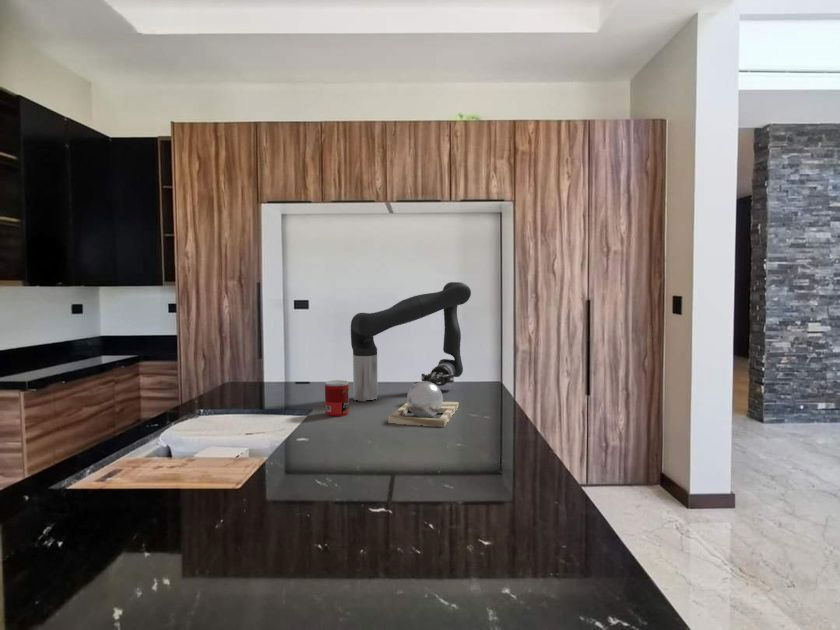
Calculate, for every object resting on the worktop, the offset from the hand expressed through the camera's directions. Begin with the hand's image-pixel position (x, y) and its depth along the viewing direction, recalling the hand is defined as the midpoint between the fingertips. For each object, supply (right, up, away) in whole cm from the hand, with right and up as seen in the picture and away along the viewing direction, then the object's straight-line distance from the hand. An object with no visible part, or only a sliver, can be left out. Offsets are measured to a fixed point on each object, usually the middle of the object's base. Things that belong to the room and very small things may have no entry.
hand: (432, 382), depth 184 cm
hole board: (-2, -10, -10) cm, 14 cm away
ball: (-3, -4, -13) cm, 14 cm away
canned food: (-33, -10, -8) cm, 35 cm away
